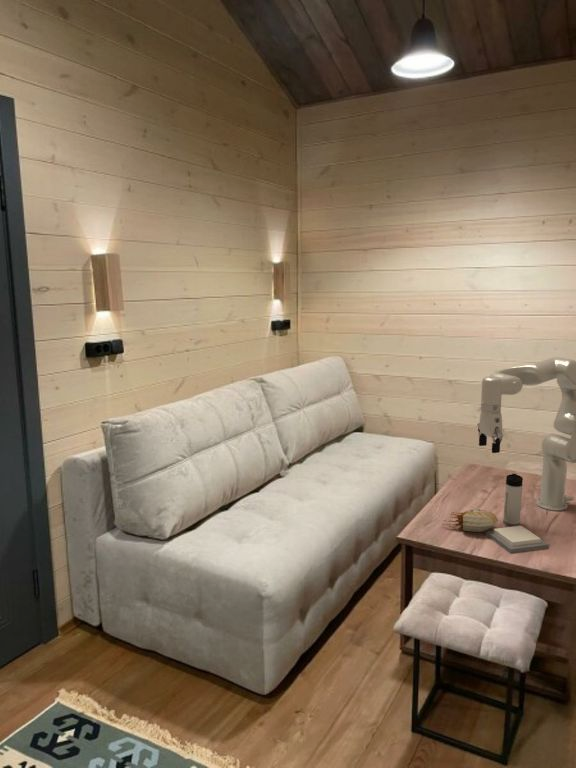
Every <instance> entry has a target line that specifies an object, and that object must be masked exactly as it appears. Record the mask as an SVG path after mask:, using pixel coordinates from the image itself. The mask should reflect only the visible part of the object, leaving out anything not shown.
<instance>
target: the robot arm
mask: <svg viewBox="0 0 576 768" xmlns="http://www.w3.org/2000/svg"><path fill="white" fill-rule="evenodd" d="M555 379H556V383H557V384H558V387H559V389H560V392H561V402H560V404H559V407H558V410H557V412H556V415H555V419H554V421H553V427H554V429H555V430H556V431H557V432H559V433H561V434H565V435H567V436H570V438H569V437H566V436H563V435H559V434H548V435H546V436H545V437H544V438H543V439H542V442H541V452H542V469H541V470H542V471H541V484H540V496H539V498H536V500H535V504H536V505H537V506H538V507H540V508H542V509H544V510H549V511H557V512H559V511H565V510H566V509H568V503H567V502H571V501H574V496H573V495H569V496H567V494H565V493H566V485H567V484H566V483H567V471H568V467H567V463H571V464H576V360H573V359H570V358H564V357H557V356H556V357H550V358H547V359H545V360H541V361H537V362H536V363H533V364H528V365H522V366H514V367H507V368H502V369H500V370H498V371H495V372H493V373H491V374H490V375H489V376H485V377H483V378H482V380H481V381H482V382H481V397H480V400H481V401H480V415H479V423H477V428H478V429H477V431H478V446H479V447H485V446H487V444H488V443H487V442H488V441H487V439H488V438H491V440H492V442H491V453H492V454H496V453H497V454H499V453H500V452H501V443H502V441H503V438H504V434H503V417H502V412H501V411H502V396H503V395H504V396H506V395H508V396H511V395H512V396H513V395H517V394H518V393H520V392H521V391H522V390H523V385H524V386H537V385H542V384H543V383H545V382H549V381H552V380H555ZM566 462H567V463H566Z"/></svg>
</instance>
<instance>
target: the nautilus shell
mask: <svg viewBox="0 0 576 768" xmlns="http://www.w3.org/2000/svg"><path fill="white" fill-rule="evenodd" d="M452 514H453V516H451V518H453V519H455V520H449V522H450V523H448V524H447V523H446V524H445V523H443V525H445V526H446V525H447V526H449V528H450V527H451V528H453V530H454V531H455V530H456V528H457V530H462V531H466V532H475V533H477V532H478V533H479V532H480V533H481V532H486V531H489V530H491V528H494V527H495V526H496V524H498V522H499V519H498V517H497V516H496V515H495V513H493V512H492V511H487V510H484V509H471V510H466V511H464V512H457V513H455V512H452ZM442 521H443V522H446V520H442ZM451 523H455V524H451Z"/></svg>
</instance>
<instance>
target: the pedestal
mask: <svg viewBox="0 0 576 768" xmlns="http://www.w3.org/2000/svg"><path fill="white" fill-rule="evenodd" d="M485 535H486V536H487V537H489V538H490V539H491V540H492V541H494V542H495V543H496V544H498V545H499V546H500V547H501V548H503V549H504V550H505V551H507V552H508V553H509V554H512V553H513V554H515V553H520V552H522V553H524V552H529V551H538V550H544V549H549V548H550V544H549V543H547V541H545V540H543V539H542V538H541V537H539V536H537V535H536V534H534V533H533V532H531V531H530V530H529V529H527V528H526V527H524V526H522V525H518V526H507V527H499V528H498V527H497V528H493V529H488V530H485Z"/></svg>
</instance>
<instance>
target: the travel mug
mask: <svg viewBox="0 0 576 768" xmlns="http://www.w3.org/2000/svg"><path fill="white" fill-rule="evenodd" d="M523 481H524V478H523V477H522V476H521V475H520V474H517V473H512V474H507V475H506V479H505V490H504V504H503V505H504V506H503V519H502V522H503V524H504V525H506V526H508V527H514V526H520V523H521V512H522V511H521V509H522V498H523V497H522V495H523Z"/></svg>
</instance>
